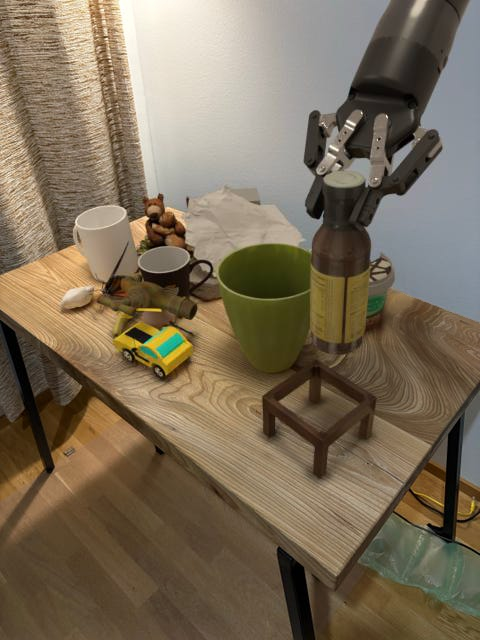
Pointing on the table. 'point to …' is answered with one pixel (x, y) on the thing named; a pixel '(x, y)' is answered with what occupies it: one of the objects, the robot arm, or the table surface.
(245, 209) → the paper
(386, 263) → the food container
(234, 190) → the toy
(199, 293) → the ceramic tile fragment
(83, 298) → the dumpling
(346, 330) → the sauce bottle
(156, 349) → the toy car
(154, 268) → the coffee mug
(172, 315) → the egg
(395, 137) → the robot arm
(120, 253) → the mug
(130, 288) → the action figure
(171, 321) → the stick
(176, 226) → the bear figurine
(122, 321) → the banana
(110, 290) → the butterfly
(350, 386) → the open square stand
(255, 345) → the flower pot
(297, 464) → the table surface
